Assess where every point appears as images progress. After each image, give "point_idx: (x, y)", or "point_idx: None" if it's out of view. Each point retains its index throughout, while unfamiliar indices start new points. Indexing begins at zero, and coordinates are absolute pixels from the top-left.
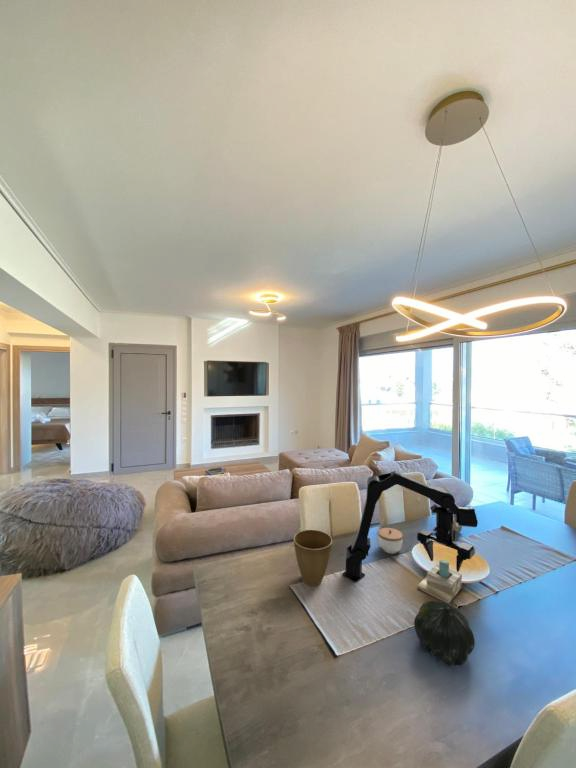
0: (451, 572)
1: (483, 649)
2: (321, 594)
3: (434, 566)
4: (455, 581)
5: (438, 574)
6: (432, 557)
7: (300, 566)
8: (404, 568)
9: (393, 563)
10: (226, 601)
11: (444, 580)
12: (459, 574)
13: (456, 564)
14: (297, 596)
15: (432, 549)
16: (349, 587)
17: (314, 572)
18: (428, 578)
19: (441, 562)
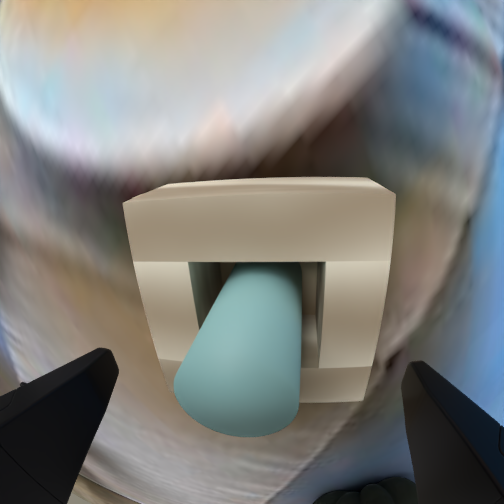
0: (302, 246)
1: None
2: (97, 472)
3: (137, 266)
4: (374, 353)
5: (205, 283)
6: (96, 389)
7: None
8: (45, 258)
9: (11, 258)
10: (81, 494)
11: (300, 396)
12: (380, 218)
13: (417, 491)
14: (91, 480)
15: (29, 429)
16: (90, 446)
17: None
18: None
19: (212, 415)
